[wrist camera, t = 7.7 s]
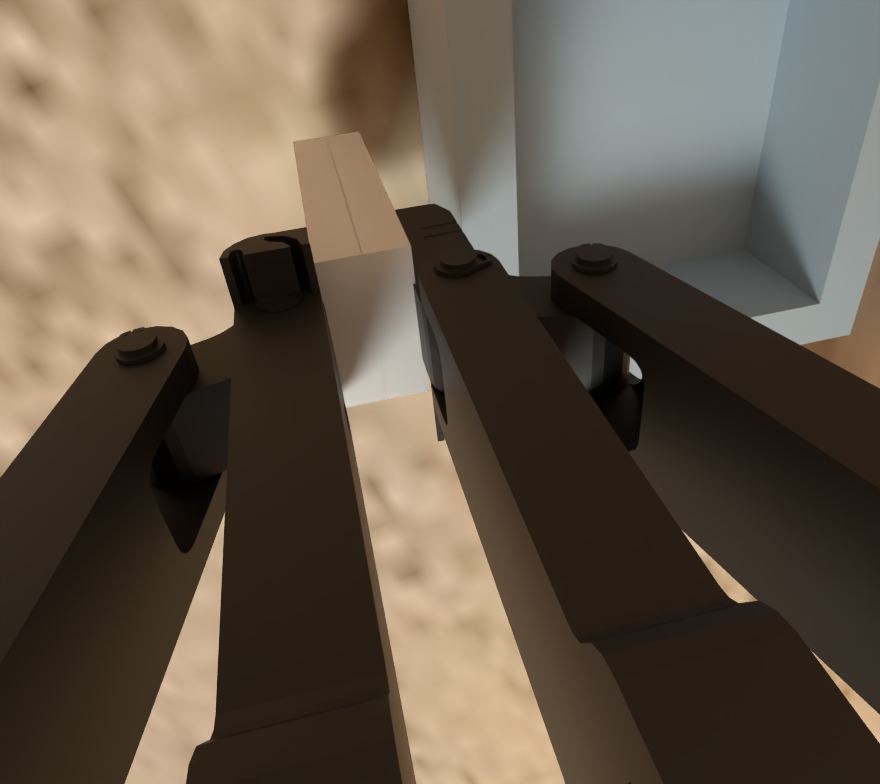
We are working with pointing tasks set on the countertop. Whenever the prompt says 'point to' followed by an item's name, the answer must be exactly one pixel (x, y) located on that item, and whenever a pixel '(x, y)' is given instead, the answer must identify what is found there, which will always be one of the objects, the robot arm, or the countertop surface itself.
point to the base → (859, 334)
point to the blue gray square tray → (664, 141)
